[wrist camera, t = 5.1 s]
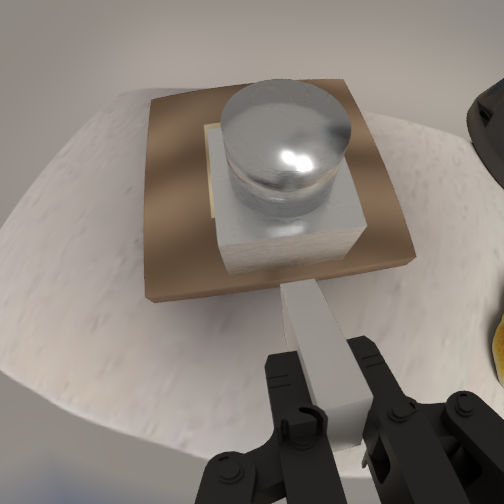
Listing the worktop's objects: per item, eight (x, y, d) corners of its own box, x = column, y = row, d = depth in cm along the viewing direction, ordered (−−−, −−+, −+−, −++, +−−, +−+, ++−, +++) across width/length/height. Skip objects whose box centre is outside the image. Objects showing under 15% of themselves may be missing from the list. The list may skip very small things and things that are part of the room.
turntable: (406, 264, 18) (416, 256, 17) (154, 302, 18) (145, 297, 17) (340, 92, 24) (343, 78, 23) (156, 112, 24) (151, 99, 22)
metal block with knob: (342, 259, 17) (396, 183, 10) (228, 276, 17) (203, 204, 9) (317, 165, 19) (341, 67, 12) (217, 177, 19) (196, 77, 12)
